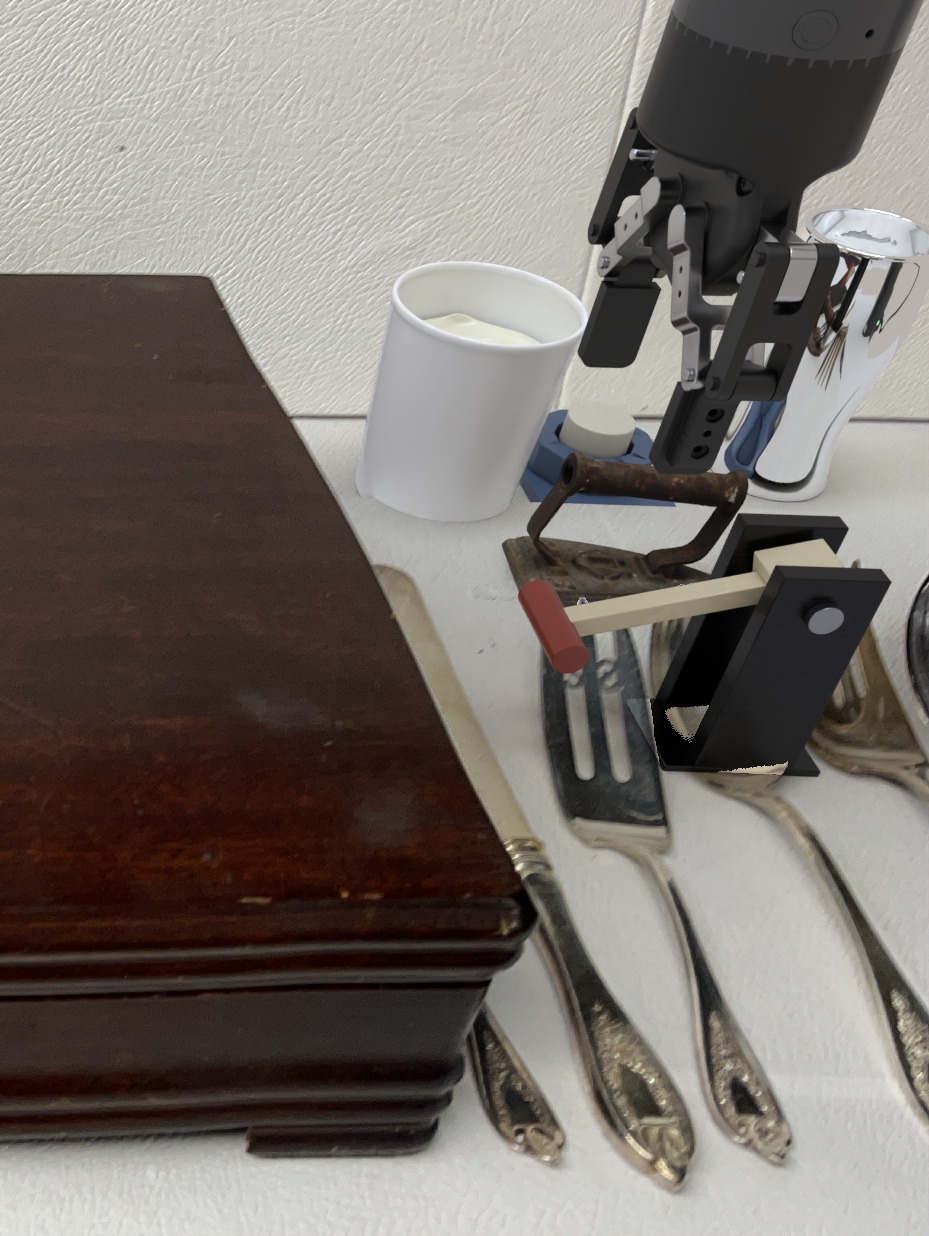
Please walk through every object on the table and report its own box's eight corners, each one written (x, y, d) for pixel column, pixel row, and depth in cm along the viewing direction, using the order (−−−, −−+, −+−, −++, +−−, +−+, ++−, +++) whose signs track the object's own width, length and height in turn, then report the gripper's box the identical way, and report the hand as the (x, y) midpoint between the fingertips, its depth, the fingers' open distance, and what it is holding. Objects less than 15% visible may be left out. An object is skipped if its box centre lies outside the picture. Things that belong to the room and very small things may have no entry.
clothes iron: (472, 559, 97) (568, 397, 91) (665, 614, 97) (772, 456, 92) (509, 626, 91) (613, 457, 85) (714, 684, 92) (831, 520, 86)
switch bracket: (659, 792, 82) (758, 584, 74) (615, 709, 86) (703, 505, 79) (815, 798, 81) (930, 590, 74) (762, 714, 86) (864, 510, 78)
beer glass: (800, 521, 99) (918, 272, 89) (677, 471, 103) (778, 228, 93) (852, 477, 102) (971, 233, 93) (732, 430, 106) (834, 191, 97)
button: (550, 427, 103) (559, 400, 101) (613, 428, 102) (623, 402, 101) (570, 460, 100) (580, 433, 99) (635, 462, 100) (646, 435, 99)
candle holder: (522, 557, 96) (594, 359, 88) (335, 523, 99) (389, 328, 91) (519, 465, 103) (585, 275, 96) (344, 436, 106) (395, 249, 98)
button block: (489, 428, 106) (501, 392, 105) (616, 432, 106) (630, 396, 105) (541, 521, 99) (555, 483, 97) (678, 526, 98) (695, 488, 97)
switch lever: (551, 684, 79) (551, 642, 77) (517, 616, 82) (517, 575, 81) (854, 629, 76) (860, 585, 74) (805, 562, 80) (809, 519, 78)
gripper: (1003, 90, 57) (805, 513, 67) (813, -48, 68) (668, 333, 78) (763, 86, 57) (603, 507, 68) (612, -51, 68) (494, 330, 79)
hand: (638, 414), depth 73 cm, fingers open, 8 cm apart
